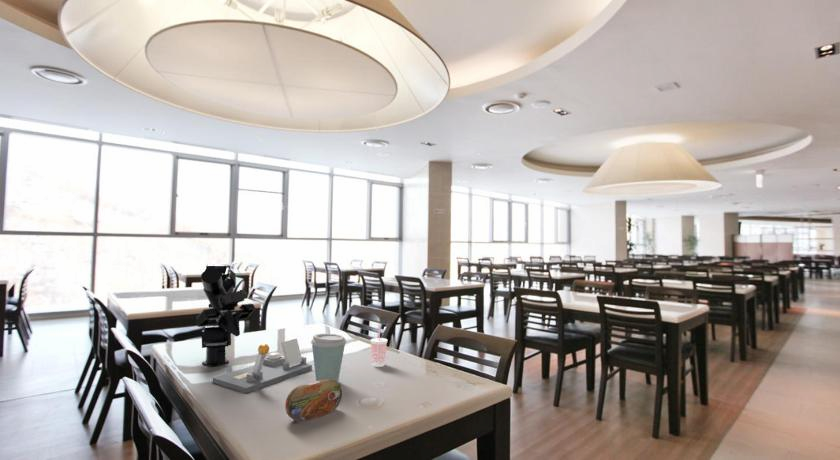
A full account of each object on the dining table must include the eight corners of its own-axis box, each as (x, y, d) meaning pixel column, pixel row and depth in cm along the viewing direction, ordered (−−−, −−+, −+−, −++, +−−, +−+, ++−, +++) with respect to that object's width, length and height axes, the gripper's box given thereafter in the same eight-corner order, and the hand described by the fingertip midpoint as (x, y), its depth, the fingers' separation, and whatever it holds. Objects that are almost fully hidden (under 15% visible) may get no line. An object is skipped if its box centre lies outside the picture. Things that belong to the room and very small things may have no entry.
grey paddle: (286, 366, 136) (281, 342, 137) (300, 361, 141) (294, 339, 142) (288, 365, 135) (283, 341, 137) (302, 361, 140) (296, 338, 142)
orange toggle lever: (247, 375, 123) (257, 343, 122) (256, 372, 126) (266, 340, 124) (253, 381, 122) (263, 348, 120) (262, 378, 125) (272, 346, 123)
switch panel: (212, 382, 125) (212, 371, 125) (280, 361, 148) (280, 351, 148) (245, 393, 117) (246, 381, 117) (312, 369, 139) (312, 358, 140)
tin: (288, 426, 97) (289, 391, 97) (283, 422, 99) (284, 387, 99) (342, 409, 107) (343, 377, 107) (335, 405, 110) (336, 374, 110)
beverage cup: (388, 362, 149) (389, 324, 149) (385, 367, 142) (386, 328, 143) (372, 361, 149) (372, 323, 150) (368, 367, 143) (369, 327, 143)
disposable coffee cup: (333, 375, 134) (334, 329, 134) (351, 384, 126) (353, 335, 126) (303, 382, 126) (305, 334, 127) (321, 392, 119) (323, 341, 119)
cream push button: (266, 360, 140) (266, 354, 140) (274, 357, 143) (275, 351, 143) (273, 361, 138) (273, 355, 138) (281, 359, 141) (282, 353, 141)
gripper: (205, 283, 124) (226, 324, 119) (254, 280, 141) (274, 316, 136) (186, 305, 128) (206, 347, 122) (236, 300, 144) (256, 336, 139)
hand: (238, 335), depth 130 cm, fingers closed
